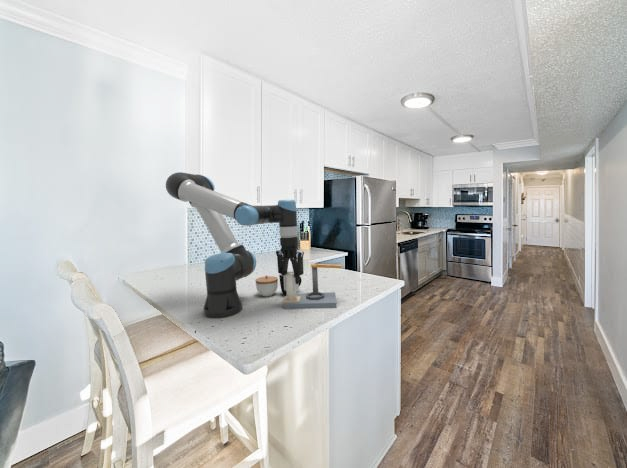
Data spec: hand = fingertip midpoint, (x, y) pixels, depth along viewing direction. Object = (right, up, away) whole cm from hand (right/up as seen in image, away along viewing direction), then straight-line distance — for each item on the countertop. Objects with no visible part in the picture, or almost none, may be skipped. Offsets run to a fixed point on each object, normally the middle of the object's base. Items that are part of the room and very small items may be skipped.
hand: (291, 290), depth 118 cm
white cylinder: (0, -4, 0) cm, 4 cm away
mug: (-1, -5, +17) cm, 17 cm away
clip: (+15, +9, +5) cm, 18 cm away
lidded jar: (-13, -6, +16) cm, 22 cm away
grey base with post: (+8, -6, +2) cm, 10 cm away
